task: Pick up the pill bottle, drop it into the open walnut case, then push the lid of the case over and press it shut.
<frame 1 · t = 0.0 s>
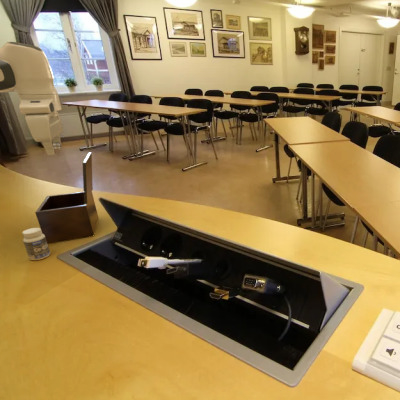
hand: (55, 151, 98), 27 cm above the table, tool pointing down, fingers open, 8 cm apart
lid: (88, 177, 105), point 18 cm above the table, hinge at 100.0°
case: (74, 230, 108), on the table
pill bottle: (40, 257, 93), on the table
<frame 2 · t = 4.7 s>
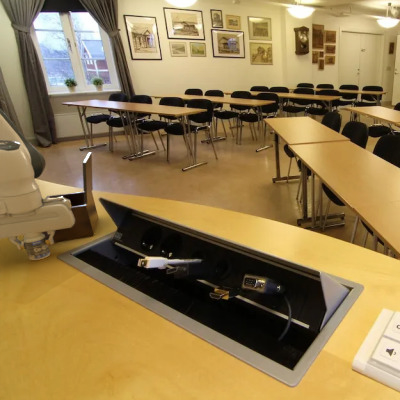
hand: (36, 246, 91), 3 cm above the table, tool pointing down, fingers closed on pill bottle, 5 cm apart
pill bottle: (40, 257, 93), on the table, touching gripper
everything else where it was.
when the fingers open (7 cm above the table, at t = 12.8 s): pill bottle stays where it is, resting on case.
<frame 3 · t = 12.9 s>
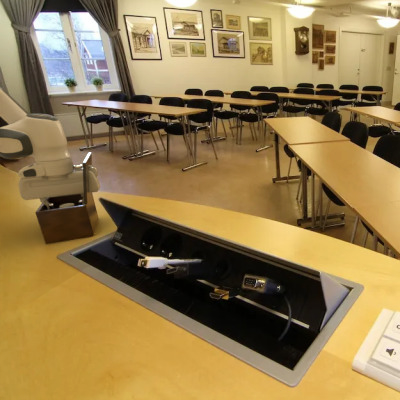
hand: (67, 207, 105), 8 cm above the table, tool pointing down, fingers open, 7 cm apart
lid: (88, 177, 105), point 18 cm above the table, hinge at 100.0°, touching gripper
pill bottle: (73, 228, 108), point 1 cm above the table, touching case
everything else where it was.
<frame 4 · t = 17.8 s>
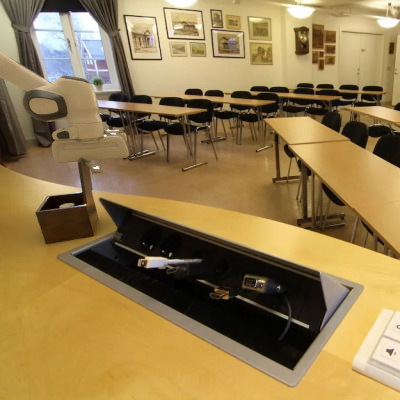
hand: (97, 173, 106), 19 cm above the table, tool pointing down, fingers closed
lid: (85, 177, 105), point 18 cm above the table, hinge at 94.7°, touching gripper
everything else where it was.
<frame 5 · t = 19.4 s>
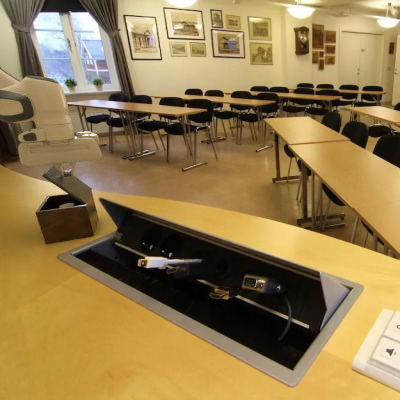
hand: (68, 176, 103), 19 cm above the table, tool pointing down, fingers closed
lid: (69, 182, 103), point 17 cm above the table, hinge at 52.2°, touching gripper
everything else where it was.
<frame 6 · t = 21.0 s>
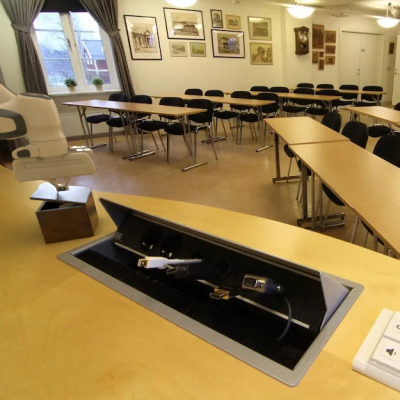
hand: (63, 190, 103), 14 cm above the table, tool pointing down, fingers closed
lid: (63, 193, 104), point 13 cm above the table, hinge at 17.7°, touching gripper
everything else where it was.
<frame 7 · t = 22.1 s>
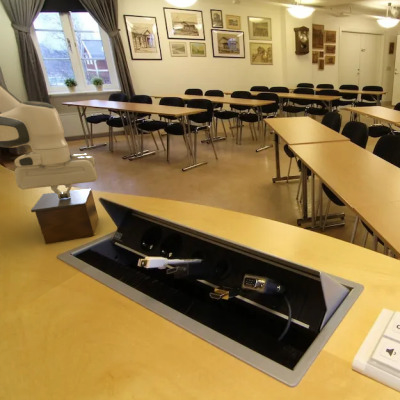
hand: (64, 197, 104), 12 cm above the table, tool pointing down, fingers closed
lid: (63, 199, 104), point 11 cm above the table, hinge at 0.2°
everything else where it was.
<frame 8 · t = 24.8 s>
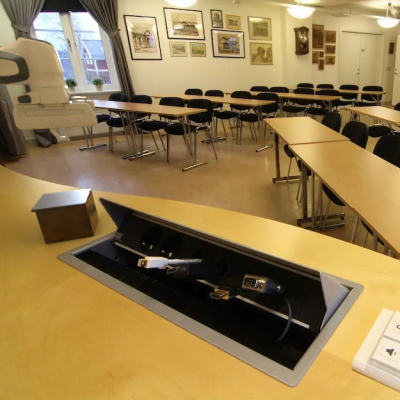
hand: (64, 142, 103), 29 cm above the table, tool pointing down, fingers closed
nothing on the table moved.
at the end: pill bottle inside the target area in the case (0.1 cm from its centre), point 0.6 cm above the case's base; lid at +0° (first picture: +100°) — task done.
